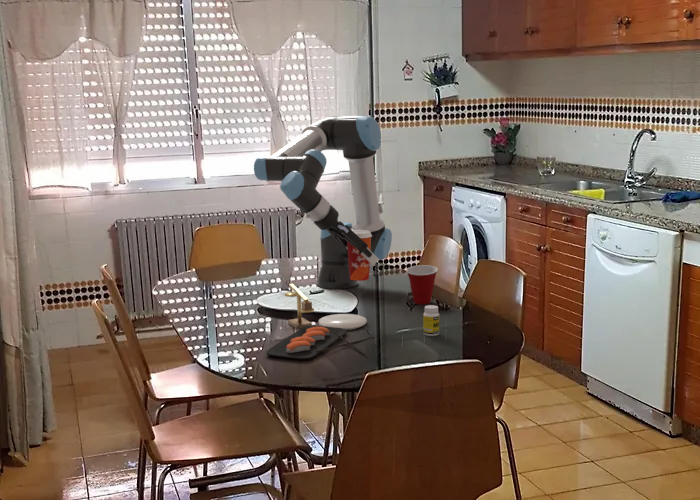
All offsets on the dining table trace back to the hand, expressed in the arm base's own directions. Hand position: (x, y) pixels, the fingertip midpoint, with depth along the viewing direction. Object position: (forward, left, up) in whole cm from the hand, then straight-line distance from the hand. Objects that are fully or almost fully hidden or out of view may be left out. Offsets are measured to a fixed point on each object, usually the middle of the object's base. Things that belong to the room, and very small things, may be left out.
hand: (368, 259), depth 252 cm
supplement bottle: (+23, +8, -20) cm, 32 cm away
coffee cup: (0, -3, -6) cm, 7 cm away
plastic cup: (-9, +25, -20) cm, 33 cm away
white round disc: (0, -10, -19) cm, 22 cm away
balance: (-6, -22, -19) cm, 30 cm away
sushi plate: (+20, -23, -20) cm, 36 cm away
